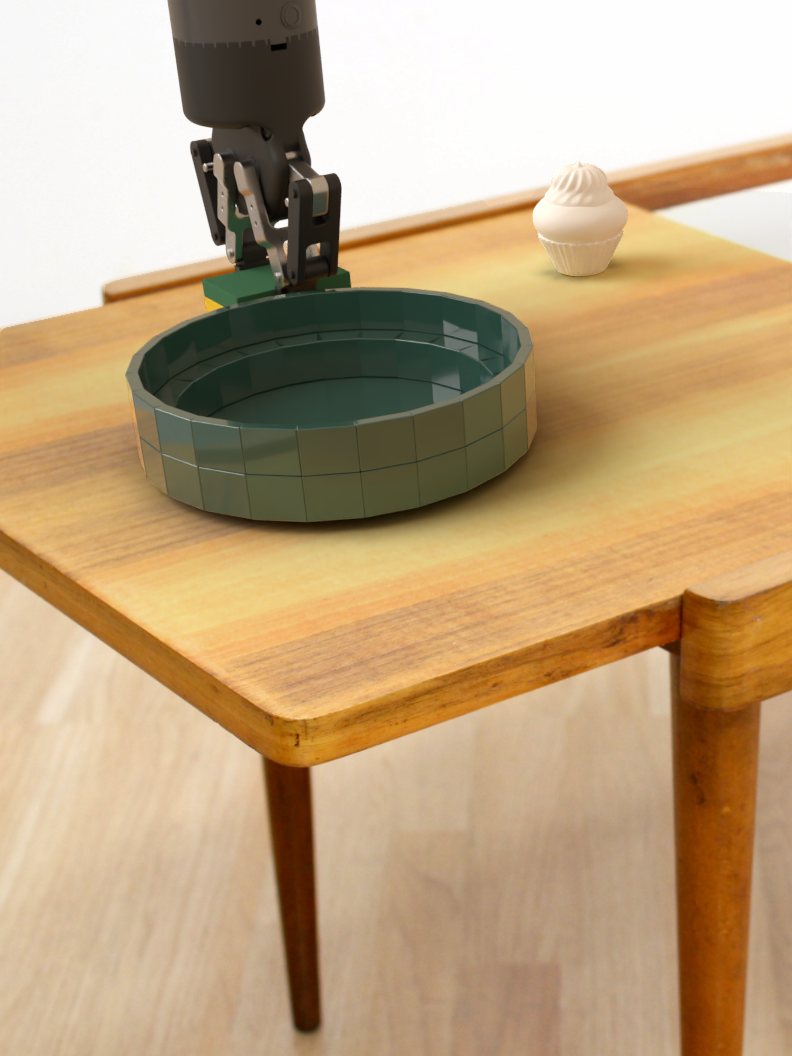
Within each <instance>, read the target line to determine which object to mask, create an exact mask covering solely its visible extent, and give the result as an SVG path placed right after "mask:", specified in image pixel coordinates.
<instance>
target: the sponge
mask: <svg viewBox="0 0 792 1056" xmlns="http://www.w3.org/2000/svg"><path fill="white" fill-rule="evenodd" d="M351 279H352V278H351V272H350V271H349V270H347V269H345V268H342V267H341V266H338V272H337V275H335V276H331V277H325V278H322V279H319V280H318V281H317V283H316V284H317V290H323V289H338V288H352V281H351ZM201 281H202V282H201V283H202V289H203V296H204V303H205V311H206V313H208V312H211V311H213V310H216V309H219V308H223V307H226V306H230V305H234V304H239V303H243V302H247V301H251V300H256V299H260V298H264V297H270V296H276V291H275V286H277V285H276V283H275V280H274V277H273V273H272V269H271V265H270V264H268V265H264V266H259V267H255V268H250V269H246V270H241V271H237V272H235V271H233V272H228V273H224V274H220V275H215V276H210V277H207V278H202V279H201Z"/></svg>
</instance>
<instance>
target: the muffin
mask: <svg viewBox="0 0 792 1056" xmlns="http://www.w3.org/2000/svg"><path fill="white" fill-rule="evenodd" d="M628 219H629V211H628V208H627V205H626V204H625V203H624V201H623V200H622V199H621V198H619V197H618V196H617V195H615V193H614V191H613V189H612V188H611V187H610V186H609V185H608V177H607V175H606V173H605V172H604V170H602V168H601V167H598V166H597V165H594V164H591V163H582V162H580V161H579V160H578V161H576V163H569V164H566V165H563V166H561V167H559V168H557V169H556V170H555V171H554V173H553V174H552V176H551V179H550V187H549V188H548V190H547V191H546V192H545V194H544V196H543V198H541V199H540V200H539V201H538V202H537V203H536V204H535V206H534V208H533V211H532V222H533V223H532V224H533V226H534V228H535V230H536V231H537V234H536V237H537V238H538V240H539V242H540V243H541V245H542V247H543V249H544V250H545V252H546V254H547V256H548V258H549V260H550V261H551V263H552V265H553V266H554V268H555V270H556V272H558V273H559V274H561V275H564V276H571V277H588V276H593V275H594V276H595V275H598V274H600V273H603V272H605V271H606V270H607V268H608V266H609V264H610V262H611V260H612V259H613V257H614V254H615V252H616V250H617V248H618V246H619V244H620V242H621V240H622V237H623V236H624V228H625V227H626V225H627V223H628Z"/></svg>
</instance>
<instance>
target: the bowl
mask: <svg viewBox="0 0 792 1056" xmlns="http://www.w3.org/2000/svg"><path fill="white" fill-rule="evenodd" d="M534 351H535V349H534V343H533V339H532V336H531V330H530V328H529V327H528V326H527V325H526V324H525V323H524V322H522V320H520V319H519V318H518V317H517V316H516V315H515V314H513V313H512V312H510V311H508V310H506V309H503V308H502V307H498V306H497V305H495V304H492V303H490V302H488V301H485V300H481V299H477V298H473V297H469V296H465V295H461V294H456V293H452V292H447V291H439V290H429V289H420V288H412V287H392V286H391V287H390V286H389V287H388V286H387V287H385V286H384V287H383V286H382V287H381V286H379V287H378V286H360V287H359V286H357V287H356V286H354V287H351V288H338V289H323V290H313V291H312V290H310V291H303V292H297V293H290V294H283V295H276V296H270V297H264V298H260V299H256V300H251V301H247V302H243V303H239V304H234V305H230V306H226V307H223V308H219V309H216V310H213V311H211V312H208V313H207V312H206V313H202V314H200V315H196V316H193V317H191V318H188V319H186V320H183V321H181V322H179V323H176V324H175V325H173V326H171V327H169V328H167V329H165V330H163V331H162V332H160V333H158V334H156V335H154V336H153V337H151V338H150V339H149V340H148V341H147V342H146V343H144V345H143V346H141V347H140V348H139V349H138V350H137V351H135V353H133V355H132V356H131V358H130V361H129V363H128V366H127V368H126V371H125V382H126V387H127V394H128V400H129V405H130V410H131V411H130V412H131V417H132V422H133V428H134V429H133V430H134V434H135V440H136V446H137V452H138V457H139V461H140V464H141V466H142V467H141V468H142V469H143V472H144V475H145V478H146V479H147V481H149V482H150V483H152V484H153V485H154V486H155V487H157V488H158V489H159V490H160V491H161V492H162V493H164V495H166V496H167V497H169V498H172V499H173V500H176V501H179V502H180V503H183V504H186V505H188V506H191V507H193V508H196V509H198V510H201V511H206V512H209V513H213V514H214V513H215V514H220V515H226V516H231V517H235V518H236V517H237V518H242V519H248V520H252V521H266V522H267V521H269V522H271V521H272V522H294V523H296V522H297V523H314V522H315V523H316V522H329V521H340V520H341V521H342V520H354V519H356V520H357V519H365V518H372V517H377V516H382V515H386V514H392V513H397V512H403V511H408V510H412V509H417V508H421V507H425V506H428V505H431V504H434V503H437V502H440V501H443V500H446V499H449V498H452V497H456V496H458V495H461V494H464V493H467V492H468V491H471V490H473V489H475V488H477V487H478V486H481V485H483V484H484V483H486V482H488V481H490V480H491V479H494V478H495V477H497V476H499V475H502V474H503V473H504V472H507V470H509V468H510V467H511V466H513V465H514V464H515V463H516V462H517V461H518V460H519V459H520V458H522V457H523V456H524V455H525V454H526V453H527V452H528V451H529V450H530V447H531V445H532V443H533V440H534V438H535V435H536V433H537V430H538V419H537V397H536V396H537V395H536V372H535V371H536V370H535V369H536V368H535V352H534Z"/></svg>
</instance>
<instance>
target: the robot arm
mask: <svg viewBox="0 0 792 1056" xmlns="http://www.w3.org/2000/svg"><path fill="white" fill-rule="evenodd" d="M316 2H317V1H316V0H167V8H168V16H169V21H170V22H169V23H170V29H171V36H172V43H173V50H174V51H173V52H174V57H175V64H176V71H177V72H176V73H177V79H178V85H179V93H180V100H181V107H182V112H183V115H184V116H185V117H184V118H186V119H187V120H188V122H190V123H192V124H195V125H197V126H200V127H205V128H210V129H211V137H209V138H201V139H196V140H192V141H190V142H189V143H190V144H189V151H190V156H191V159H192V163H193V168H194V171H195V176H196V179H197V184H198V188H199V191H200V196H201V200H202V204H203V207H204V212H205V216H206V219H207V224H208V227H209V231H210V236H211V239H212V242H213V243H214V245H215V246H216V247H219V246H220V247H221V246H224V245H225V255H226V258H227V260H228V262H229V263H230V264H231V265H233V266H234V272H237V271H241V270H246V269H250V268H255V267H259V266H264V265H268V264H270V265H271V269H272V273H273V277H274V280H275V283H276V285H277V286H275V291H276V295H283V294H290V293H297V292H303V291H310V290H312V291H313V290H317V284H316V283H317V281H318V280H319V279H322V278H325V277H331V276H335V275H337V272H338V267H339V254H340V253H339V252H340V233H341V232H340V231H341V212H342V189H343V188H342V182H341V179H340V177H339V175H338V174H337V173H336V172H332V173H327V174H319V173H318V172H317V171H316V170H314V168H313V167H312V158H311V152H310V149H309V147H308V144H307V140H306V136H305V132H304V125H305V123H306V122H307V121H308V120H309V118H312V117H315V116H317V115H318V114H319V113H321V112H322V111H323V109H324V108H325V104H326V92H325V84H324V83H325V82H324V73H323V63H322V52H321V41H320V32H319V24H318V14H317V3H316ZM281 221H287V226H283V227H275V226H276V224H278V222H281ZM286 242H287V247H286V252H285V248H284V244H285V243H286ZM318 244H319V248H318ZM286 254H287V255H286Z"/></svg>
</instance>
